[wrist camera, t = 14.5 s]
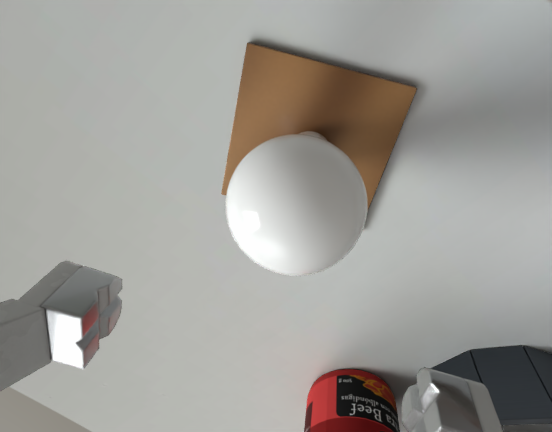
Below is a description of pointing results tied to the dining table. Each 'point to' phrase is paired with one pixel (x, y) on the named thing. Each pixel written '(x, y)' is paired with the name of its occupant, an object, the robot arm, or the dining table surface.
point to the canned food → (351, 404)
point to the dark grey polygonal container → (510, 381)
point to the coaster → (317, 109)
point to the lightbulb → (296, 204)
